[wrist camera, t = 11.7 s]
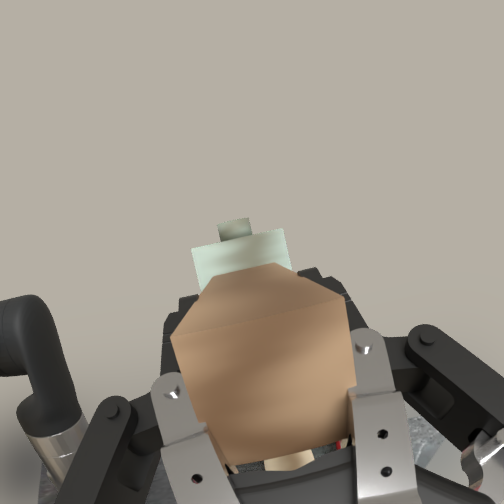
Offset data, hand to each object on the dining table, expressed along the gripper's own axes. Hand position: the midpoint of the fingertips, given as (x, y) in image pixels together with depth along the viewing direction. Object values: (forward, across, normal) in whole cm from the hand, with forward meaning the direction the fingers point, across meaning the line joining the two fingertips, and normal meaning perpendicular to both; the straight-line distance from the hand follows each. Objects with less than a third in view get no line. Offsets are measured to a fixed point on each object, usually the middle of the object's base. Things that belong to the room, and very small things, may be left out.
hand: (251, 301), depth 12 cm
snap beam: (+1, 0, +5) cm, 5 cm away
